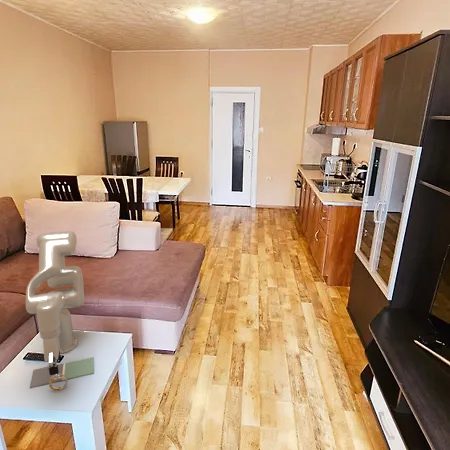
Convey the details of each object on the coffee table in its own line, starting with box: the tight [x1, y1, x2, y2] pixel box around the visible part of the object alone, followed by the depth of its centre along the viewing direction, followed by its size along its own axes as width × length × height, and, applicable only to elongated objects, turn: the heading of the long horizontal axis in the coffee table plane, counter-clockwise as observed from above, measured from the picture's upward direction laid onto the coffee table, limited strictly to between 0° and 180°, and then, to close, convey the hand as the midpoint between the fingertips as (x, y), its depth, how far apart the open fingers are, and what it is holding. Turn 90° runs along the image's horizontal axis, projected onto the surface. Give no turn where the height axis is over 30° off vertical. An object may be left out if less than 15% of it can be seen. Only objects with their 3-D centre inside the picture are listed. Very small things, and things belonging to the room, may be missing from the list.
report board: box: [29, 357, 95, 389], centre depth 151 cm, size 11×26×1 cm, turn 111°
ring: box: [48, 374, 69, 392], centre depth 140 cm, size 7×3×8 cm, turn 106°
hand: (55, 366), depth 136 cm, fingers open, 9 cm apart
